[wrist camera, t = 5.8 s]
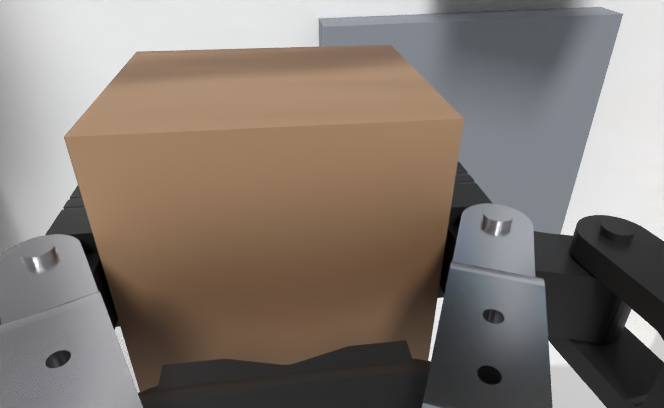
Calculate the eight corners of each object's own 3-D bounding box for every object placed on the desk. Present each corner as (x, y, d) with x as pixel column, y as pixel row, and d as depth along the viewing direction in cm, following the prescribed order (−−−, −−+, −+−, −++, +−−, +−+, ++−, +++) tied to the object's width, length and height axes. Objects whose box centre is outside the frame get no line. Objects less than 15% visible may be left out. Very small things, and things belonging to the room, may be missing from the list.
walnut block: (136, 51, 11) (64, 136, 7) (390, 44, 12) (463, 119, 8) (177, 259, 14) (144, 405, 10) (378, 244, 15) (425, 376, 11)
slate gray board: (318, 18, 26) (323, 26, 24) (600, 7, 28) (622, 14, 26) (324, 258, 34) (328, 276, 33) (540, 237, 36) (554, 254, 34)
